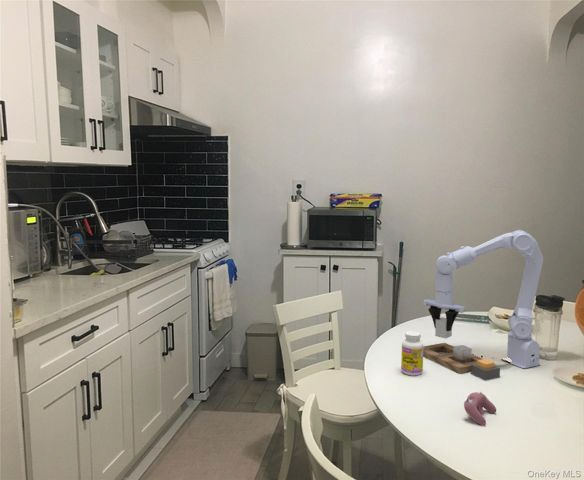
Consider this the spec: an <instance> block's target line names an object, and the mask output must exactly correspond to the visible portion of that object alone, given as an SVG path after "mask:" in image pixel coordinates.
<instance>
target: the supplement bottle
mask: <svg viewBox="0 0 584 480" xmlns="http://www.w3.org/2000/svg"><path fill="white" fill-rule="evenodd" d="M421 337H422V336H421V333H420V332H419V331H414V330H409V331H406V332H405V339H404V340H402V342H401V359H400V360H401V363H400V364H401V367H400V370H401V373H403V374H405V375H406V376H407V375H409V376H413V377H414V376H419V375H422V373H423V368H424V367H423V366H424V357H423V346H424V342H423V341H421V340H420V339H421Z"/></svg>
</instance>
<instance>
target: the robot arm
mask: <svg viewBox="0 0 584 480" xmlns="http://www.w3.org/2000/svg"><path fill="white" fill-rule="evenodd" d="M512 247H513V249H514V250H516V251H517V252H518V253H520V254H521V256H522V257H523V258H524V260H525V263H524V264H525V265H524V269H523V275H522V278H521V283H520V288H519V292H518V296H517V301H516V305H515V307H514V309H513V313H512V314H511V315H510V316H509V318H508V323H507V324H508V326H509V328H510V331H508V333H507V348H506V349H507V352H506V354H507V355H506V357H508V358H510V359H511V360H512V363H510V364H511V365H514V366H516V367H519V368H521V369H528V368H531V367H532V368H533V367H537V366H540V365H541V363H540V344H539V343H538V341H536V340H534V338H533V336H532V334H533V331H534V327H533V324H532V321H533V308H534V303H535V298H536V294H537V289H538V285H539V281H540V276H541V272H542V267H543V263H544V256H543V254H542V251H541V249H540V246H539V244H538V241H537V240H536V239H535V238H534V237H533V236H532V235H531V234H530V233H528V232H527V231H525V230H522V229H517V230H514V231H512V232H506V233H504V234H503V233H502V234H501V235H499V236H496V237H494V238H492V239H490V240H488V241H485V242H484V243H481V244H479V245H477V246H474V247H471V246H470V245H467V246H464V245H462V246H460V248H459V249H457V250H454V251H453V252H447V253H446V255H441V256H439V257H438V258H437V259H436V262H435V266H436V272H435V273H436V276H435V297H434V298H435V299H428V298H427V299H424V300H423V306H426V307H429V308H428V312H429V314H430V316H431V318H432V321H433V327H434V329H435V328H436V319H438V318H440V317H441V313H442V310H447V311H444V315H445V318H446V320H447V326H446V328H447V331H451V330H453V326H454V322H455V321H456V319H457V317H458V315H459V313H460V314H463V313H465V310H466V306H463V305H460V304H457V303H454V302H453V298H454V297H453V296H454V276H453V275H454V273H453V272H454V270H455V269H456V270H457V269H460V268H462V267H465V266H468V265H471V264H473V263H475V262H476V260H477V259H478V257H481V256H482V255H486V254H488V253H490V252H493V251H496V250H499V249H504V250H505V249H506V250H512Z"/></svg>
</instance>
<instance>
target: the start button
mask: <svg viewBox="0 0 584 480" xmlns="http://www.w3.org/2000/svg"><path fill="white" fill-rule="evenodd" d="M494 365H495V362H494V361H492V360H490V359H487V358H483V359H482V360H477V366H479V367H481V368H483V369H490V368H494Z"/></svg>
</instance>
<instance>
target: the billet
mask: <svg viewBox="0 0 584 480" xmlns="http://www.w3.org/2000/svg"><path fill="white" fill-rule="evenodd" d="M471 354H473V353H472V348H471V347H469V346H466V345H464V344H461V345H454V350H453V360H454V361H456V362H458V363H461V364H464V363H469V362H471Z"/></svg>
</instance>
